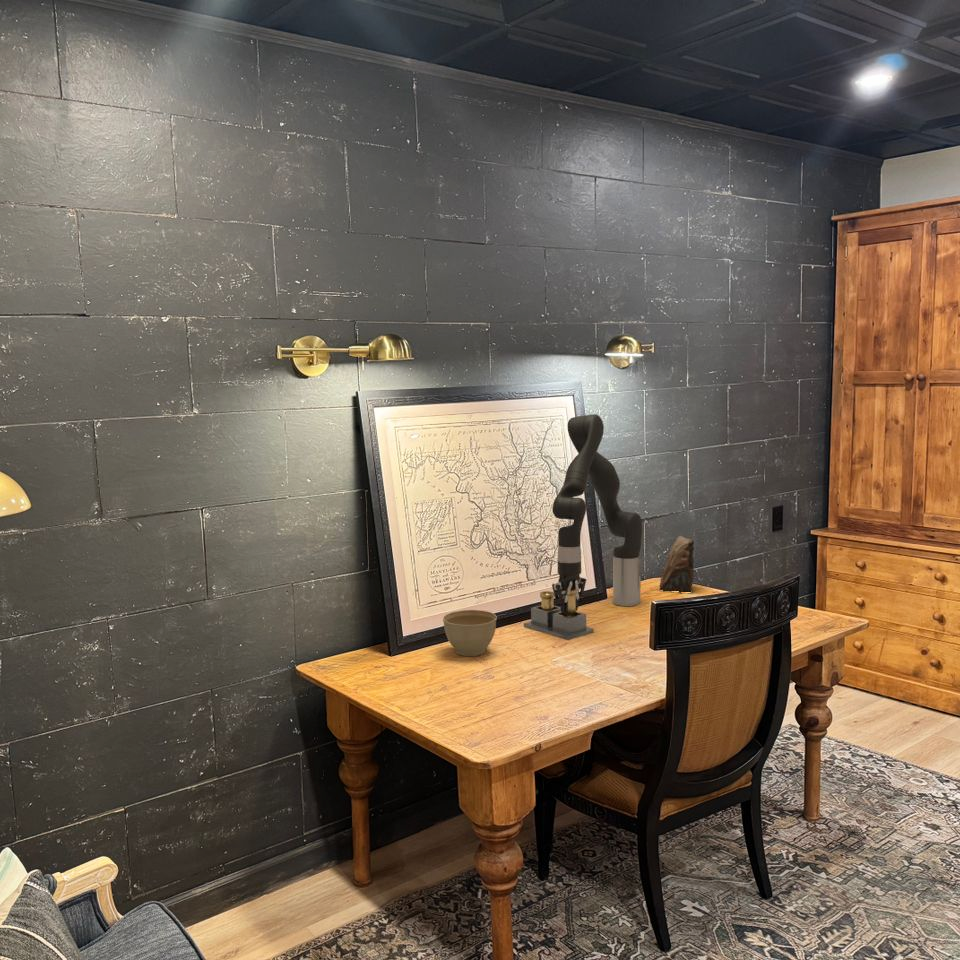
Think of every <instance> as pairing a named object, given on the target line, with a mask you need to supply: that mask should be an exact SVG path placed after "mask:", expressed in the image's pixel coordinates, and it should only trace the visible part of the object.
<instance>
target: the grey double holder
mask: <svg viewBox="0 0 960 960" xmlns="http://www.w3.org/2000/svg"><path fill="white" fill-rule="evenodd" d="M539 597H540V598H541V599H540V602H541V604H540V605H536V606H533V607H530V621H526V622H524V623H523V627H524V628H527V629H530V630H533V631H537V632H540V633H544V634H548V635H550V636H553V637H557V638H561V639H564V640H566V641H567V640H568V641H569V640H572V639H576V638H579V637H582V636H586V635H590V634H593V633H594V631H595V629H594V628H593V627H589V626H587V613H583V612H580V611H578V610H577V611H576V616H573V617H567V616H563V613H562V612H561V606H558V605H554V599H555V596H554V592H553V591H548V590H547V591H541V592H539Z"/></svg>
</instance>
